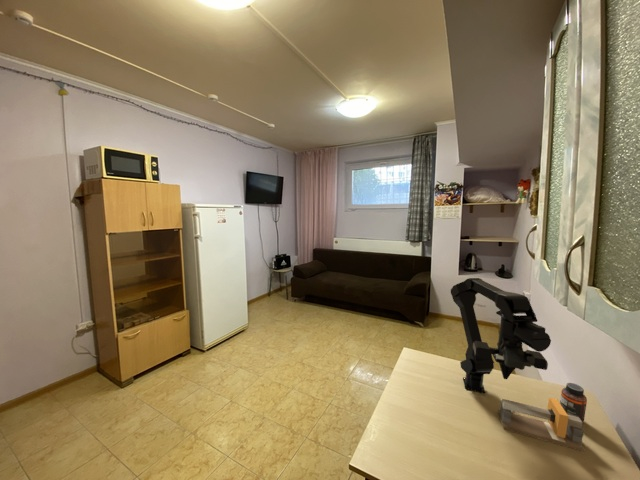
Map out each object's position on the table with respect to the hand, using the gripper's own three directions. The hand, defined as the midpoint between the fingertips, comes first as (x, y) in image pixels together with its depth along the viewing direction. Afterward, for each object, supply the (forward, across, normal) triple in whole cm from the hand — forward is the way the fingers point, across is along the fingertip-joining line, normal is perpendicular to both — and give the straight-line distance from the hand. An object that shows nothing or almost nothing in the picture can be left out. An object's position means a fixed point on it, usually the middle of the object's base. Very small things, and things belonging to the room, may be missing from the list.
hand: (504, 378), depth 84 cm
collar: (+10, +13, -3) cm, 17 cm away
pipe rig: (+13, +9, -3) cm, 16 cm away
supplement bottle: (+13, +21, +7) cm, 26 cm away
